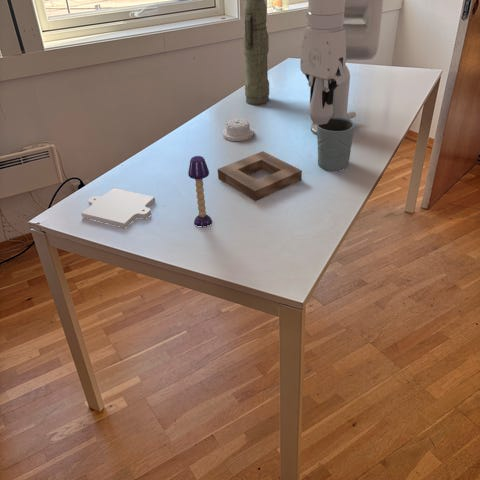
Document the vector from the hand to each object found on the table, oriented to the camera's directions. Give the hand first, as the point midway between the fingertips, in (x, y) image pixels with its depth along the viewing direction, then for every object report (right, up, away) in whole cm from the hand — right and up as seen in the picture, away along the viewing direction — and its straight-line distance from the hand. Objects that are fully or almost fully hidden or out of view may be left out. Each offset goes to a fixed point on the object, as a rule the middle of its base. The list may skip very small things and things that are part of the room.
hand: (321, 104), depth 113 cm
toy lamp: (-28, -28, +2) cm, 39 cm away
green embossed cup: (+7, -11, +22) cm, 26 cm away
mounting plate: (-49, -25, +8) cm, 56 cm away
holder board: (-14, -16, +17) cm, 27 cm away
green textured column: (-13, +20, +66) cm, 70 cm away
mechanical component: (-20, +2, +42) cm, 46 cm away
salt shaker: (0, -4, +3) cm, 4 cm away
